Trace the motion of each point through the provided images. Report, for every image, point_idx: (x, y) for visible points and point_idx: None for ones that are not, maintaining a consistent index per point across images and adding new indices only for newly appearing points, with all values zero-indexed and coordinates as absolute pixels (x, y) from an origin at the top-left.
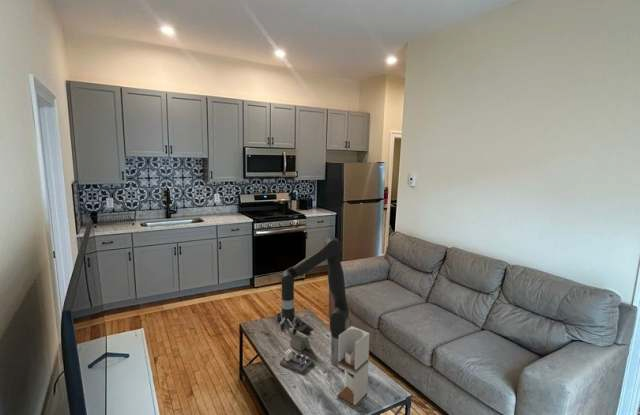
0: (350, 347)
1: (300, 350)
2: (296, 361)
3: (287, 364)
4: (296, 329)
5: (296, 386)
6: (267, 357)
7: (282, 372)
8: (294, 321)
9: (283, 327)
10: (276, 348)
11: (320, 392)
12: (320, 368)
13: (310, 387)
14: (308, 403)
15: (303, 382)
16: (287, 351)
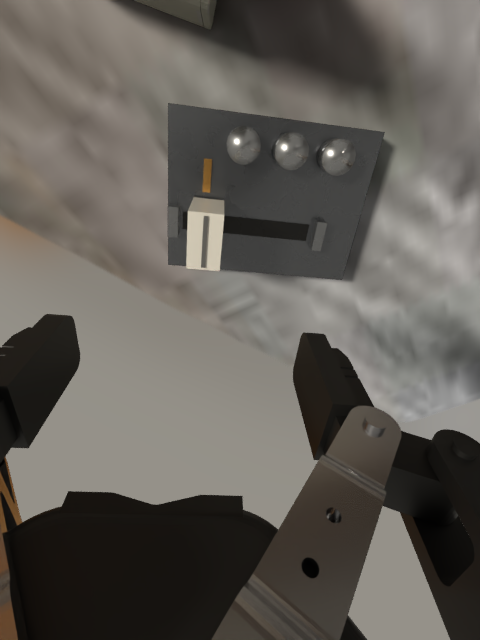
0: None
1: (211, 19)
2: (267, 214)
3: (228, 268)
4: (365, 397)
5: None
6: (49, 230)
7: (224, 305)
8: (366, 544)
9: (56, 353)
10: (5, 89)
11: (454, 338)
12: (430, 171)
13: (402, 332)
14: (413, 400)
15: (359, 319)
16: (198, 248)
